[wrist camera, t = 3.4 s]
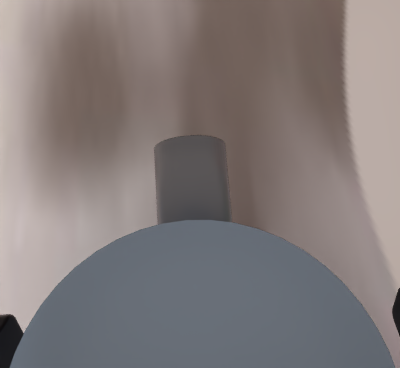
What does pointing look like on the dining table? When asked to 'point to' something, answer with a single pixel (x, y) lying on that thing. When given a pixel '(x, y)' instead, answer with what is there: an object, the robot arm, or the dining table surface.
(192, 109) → the dining table surface
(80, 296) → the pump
